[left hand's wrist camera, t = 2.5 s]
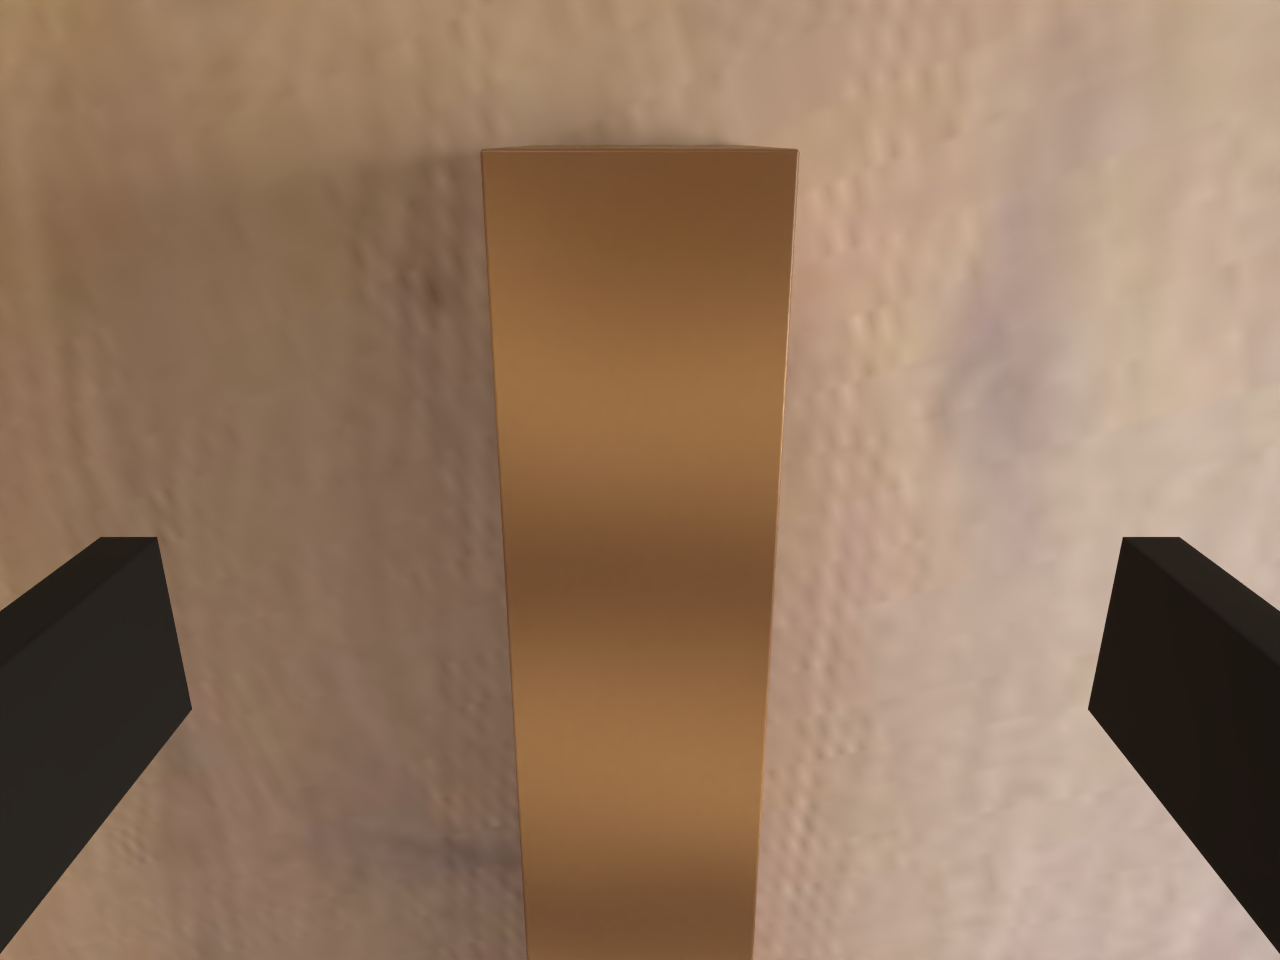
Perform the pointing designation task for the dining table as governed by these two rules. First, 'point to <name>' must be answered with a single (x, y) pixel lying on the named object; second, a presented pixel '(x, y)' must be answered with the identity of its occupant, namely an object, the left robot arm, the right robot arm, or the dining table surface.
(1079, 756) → the dining table surface
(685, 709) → the bar
